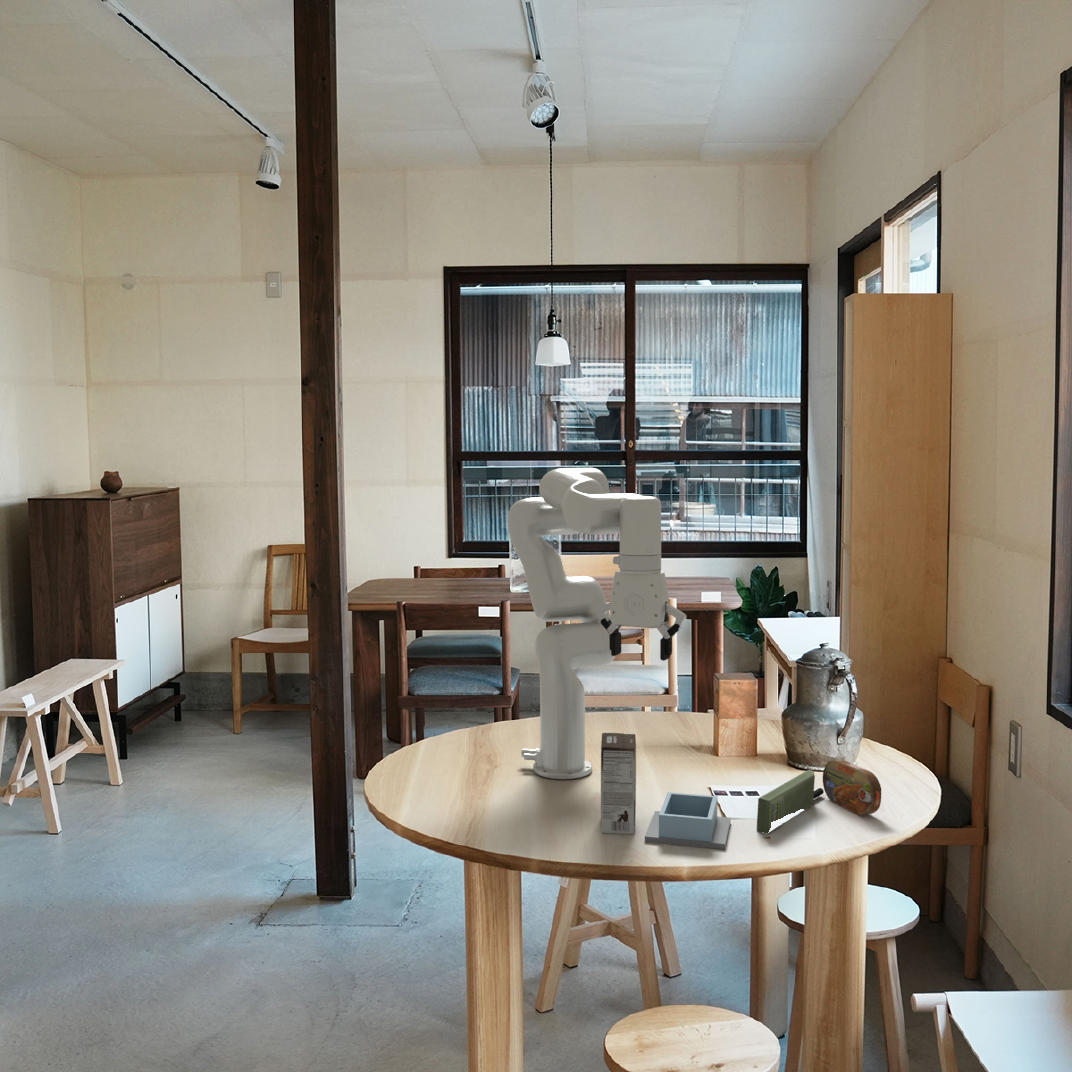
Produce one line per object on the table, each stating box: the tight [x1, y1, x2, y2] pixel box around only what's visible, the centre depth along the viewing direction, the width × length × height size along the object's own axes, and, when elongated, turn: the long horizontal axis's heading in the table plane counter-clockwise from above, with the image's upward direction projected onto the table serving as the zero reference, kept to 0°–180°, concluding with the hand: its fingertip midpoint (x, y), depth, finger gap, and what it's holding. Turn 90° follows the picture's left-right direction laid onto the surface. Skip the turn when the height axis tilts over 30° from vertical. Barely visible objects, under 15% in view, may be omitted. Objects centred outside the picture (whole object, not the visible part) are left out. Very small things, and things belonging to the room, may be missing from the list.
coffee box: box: [600, 732, 637, 835], centre depth 192 cm, size 9×6×16 cm
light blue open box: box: [644, 791, 731, 851], centre depth 189 cm, size 14×13×5 cm
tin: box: [822, 759, 882, 816], centre depth 201 cm, size 15×3×8 cm, turn 21°
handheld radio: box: [756, 769, 825, 834], centre depth 198 cm, size 7×3×25 cm
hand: (640, 656), depth 191 cm, fingers open, 9 cm apart
